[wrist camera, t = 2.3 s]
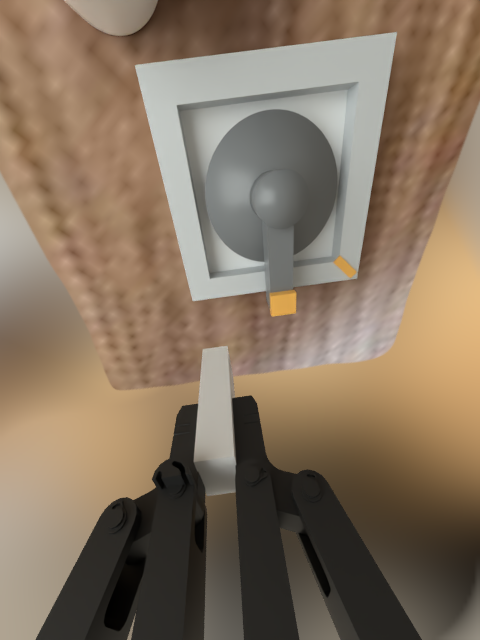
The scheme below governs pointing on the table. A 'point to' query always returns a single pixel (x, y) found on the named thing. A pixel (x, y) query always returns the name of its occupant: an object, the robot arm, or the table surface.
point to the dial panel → (251, 97)
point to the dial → (272, 194)
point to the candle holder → (115, 14)
